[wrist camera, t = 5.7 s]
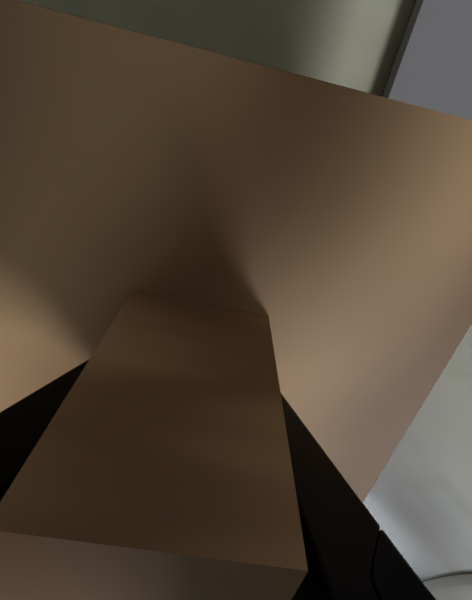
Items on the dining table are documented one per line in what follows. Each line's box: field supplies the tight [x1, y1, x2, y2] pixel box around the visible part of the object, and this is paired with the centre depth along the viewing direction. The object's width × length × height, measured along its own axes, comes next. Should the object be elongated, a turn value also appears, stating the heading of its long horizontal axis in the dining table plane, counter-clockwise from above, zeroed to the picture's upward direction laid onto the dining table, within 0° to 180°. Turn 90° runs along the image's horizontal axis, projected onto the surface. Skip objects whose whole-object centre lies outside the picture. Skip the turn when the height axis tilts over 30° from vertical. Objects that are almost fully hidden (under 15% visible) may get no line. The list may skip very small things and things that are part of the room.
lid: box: [0, 0, 472, 600], centre depth 7 cm, size 12×12×6 cm
